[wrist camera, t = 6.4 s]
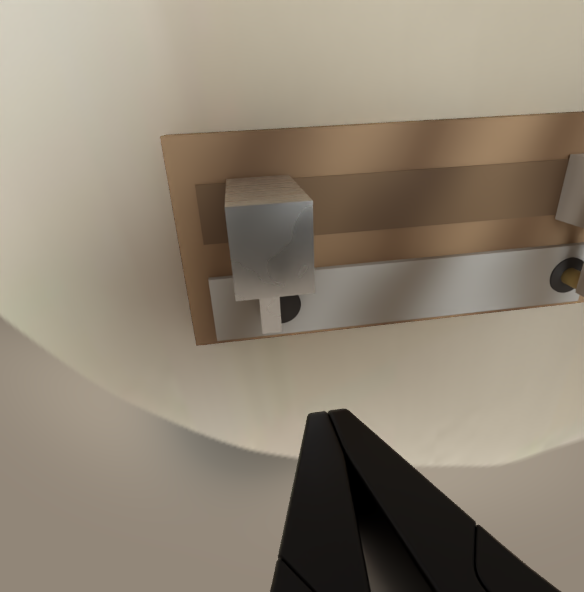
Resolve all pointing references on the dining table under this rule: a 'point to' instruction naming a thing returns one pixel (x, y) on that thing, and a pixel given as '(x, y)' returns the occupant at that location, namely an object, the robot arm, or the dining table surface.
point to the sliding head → (270, 242)
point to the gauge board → (393, 219)
